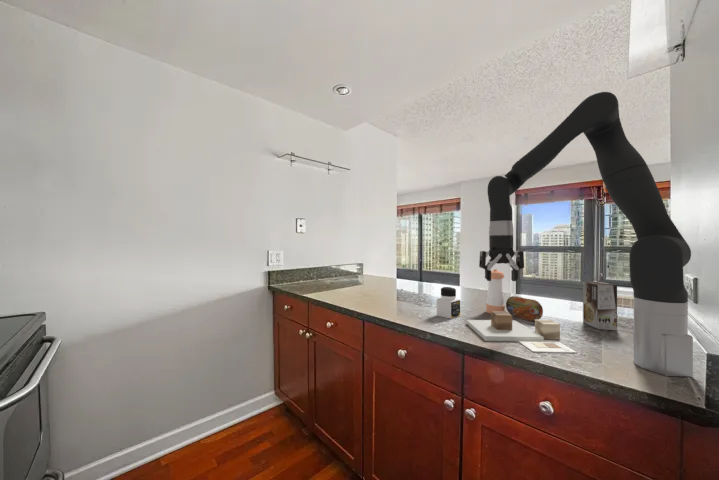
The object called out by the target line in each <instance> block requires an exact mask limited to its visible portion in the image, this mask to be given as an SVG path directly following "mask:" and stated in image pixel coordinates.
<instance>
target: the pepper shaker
mask: <svg viewBox="0 0 719 480" xmlns="http://www.w3.org/2000/svg"><path fill="white" fill-rule="evenodd" d="M504 278H505V274H504V272H502V271H501V270H500V271H499V270H498V269H497V268H493V270H491V281H488V285H487V286H488V289H487V295H486V301H487V303H485V304H486V305H485V306H486V307H485V308H486V309H485V310H486V311H485V312H486V313H488V314H489V315H491V311H505V312H506V310H505V309H506V305H505V304H504V303H505V300H504V299H505V296H504V289H503V279H504Z"/></svg>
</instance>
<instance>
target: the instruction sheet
mask: <svg viewBox="0 0 719 480" xmlns="http://www.w3.org/2000/svg"><path fill="white" fill-rule="evenodd" d="M517 343H519V344H521V345H522V346H524V347H525V348H526V349H527V350H529V351H531V352H532V353H544V352H545V353H549V354H550V353H551V354H552V353H556V354H557V353H558V354H559V353H560V354H561V353H563V354H577V353H578V352H577V351H576V350H574V349H572V348H570V347H569V346H567V345H565V344H563V343H561V342H560V341H558V340H557V339H544V341H521V340H518V341H517Z"/></svg>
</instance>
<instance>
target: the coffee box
mask: <svg viewBox="0 0 719 480" xmlns="http://www.w3.org/2000/svg"><path fill="white" fill-rule="evenodd" d="M582 295H583V296H582V302H583V303H582V306H583V307H582V308H583V309H582V310H583V311H582V312H583V314H582V316H583V320H582V321H583V323H584V324H586V325H587V326H590V327H592V328H594V329H597V330H606V331H608V330H609V331H618V284H614V283H611V282H610V283H609V282H604V281H594V280H593V281H582Z"/></svg>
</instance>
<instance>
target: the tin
mask: <svg viewBox="0 0 719 480" xmlns="http://www.w3.org/2000/svg"><path fill="white" fill-rule="evenodd" d="M541 304H542V303H540V302H539V301H538V300H536V299H531V298H527V297H521V296H509V297H508V298H507V300H506V302H505V309H506V310H507V311H506V312H507V313H509V314H511V315H512V317H515V318H519V319H522V320H526V321H529V322H535V320H541V319H542V317H543V315H544V314H543V313H544V309H543V306H542V305H541Z"/></svg>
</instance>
